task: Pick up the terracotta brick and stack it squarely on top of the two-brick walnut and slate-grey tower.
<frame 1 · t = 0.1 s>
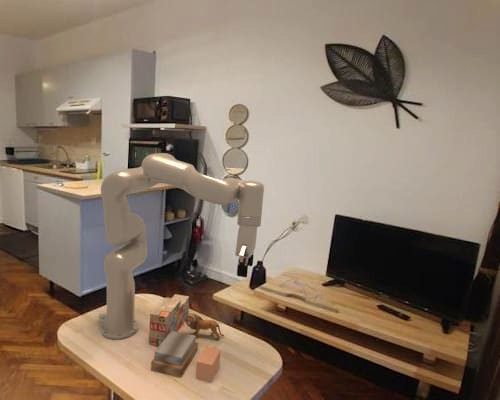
hand: (245, 270, 110), 31 cm above the table, tool pointing down, fingers open, 9 cm apart
stack of blocks: (170, 330, 127), on the table
terracotta brick: (207, 372, 106), on the table
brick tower: (175, 359, 110), on the table
lion figurine: (202, 337, 124), on the table
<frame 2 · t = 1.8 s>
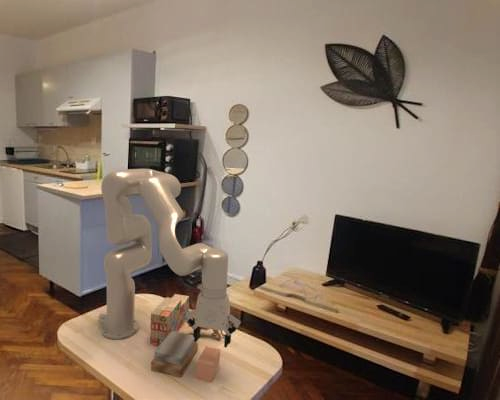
hand: (211, 342, 104), 11 cm above the table, tool pointing down, fingers open, 9 cm apart
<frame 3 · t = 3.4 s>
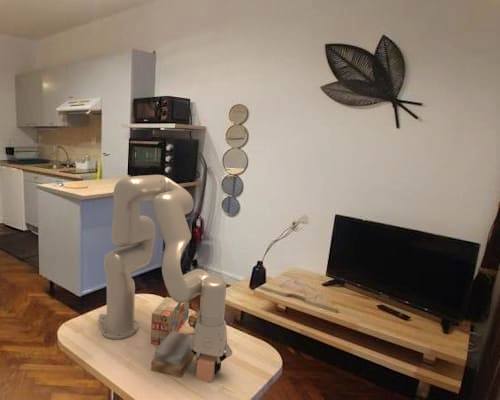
hand: (208, 369, 106), 1 cm above the table, tool pointing down, fingers closed on terracotta brick, 4 cm apart
terracotta brick: (208, 372, 106), on the table, touching gripper
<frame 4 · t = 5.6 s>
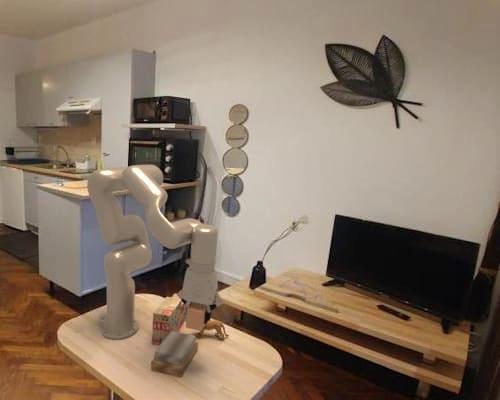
hand: (198, 319, 105), 17 cm above the table, tool pointing down, fingers closed on terracotta brick, 4 cm apart
terracotta brick: (198, 322, 105), point 16 cm above the table, touching gripper
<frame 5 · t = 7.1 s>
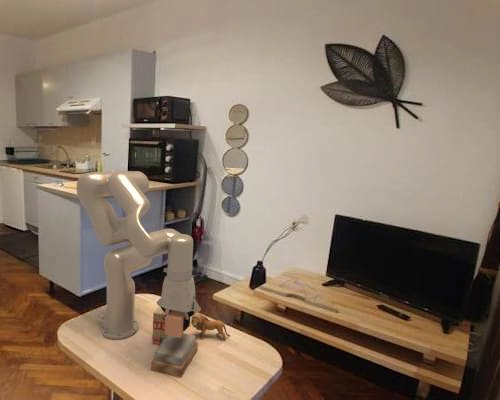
hand: (177, 326, 108), 12 cm above the table, tool pointing down, fingers closed on terracotta brick, 4 cm apart
terracotta brick: (177, 329, 108), point 11 cm above the table, touching gripper
when the fingers open (8 cm above the table, at t = 8.2 s): terracotta brick drops 1 cm, resting on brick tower.
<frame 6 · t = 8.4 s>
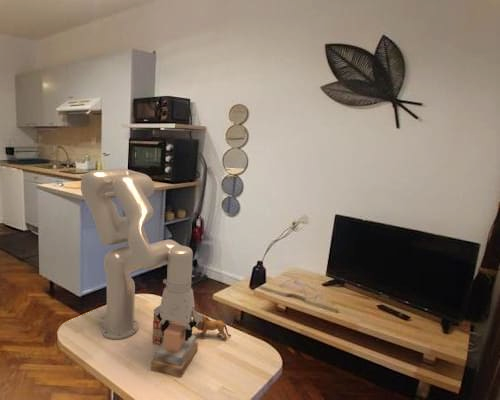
hand: (176, 335, 109), 9 cm above the table, tool pointing down, fingers open, 7 cm apart
terracotta brick: (175, 343, 109), point 6 cm above the table, touching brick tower
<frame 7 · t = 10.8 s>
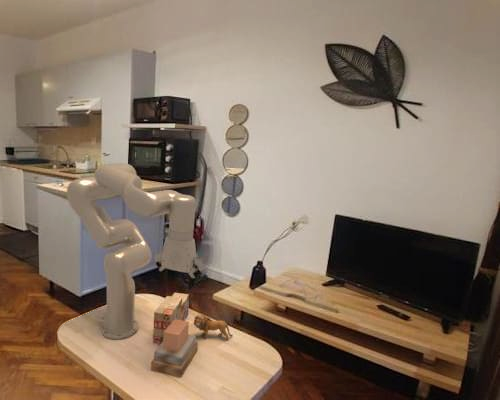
hand: (177, 284, 108), 25 cm above the table, tool pointing down, fingers open, 9 cm apart
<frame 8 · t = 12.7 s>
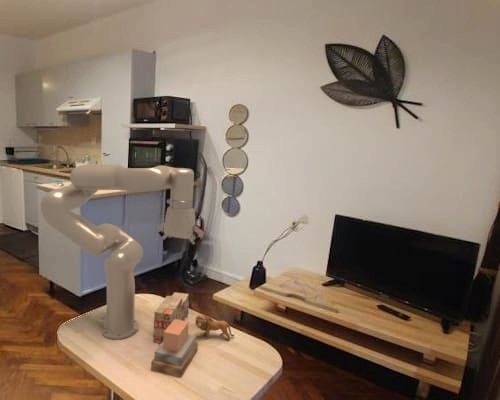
hand: (179, 251, 118), 32 cm above the table, tool pointing down, fingers open, 9 cm apart
at the end: terracotta brick 0.1 cm off-centre on the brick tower, point 6.0 cm above the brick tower's base; terracotta brick tilted 0°; the gripper is holding nothing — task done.
